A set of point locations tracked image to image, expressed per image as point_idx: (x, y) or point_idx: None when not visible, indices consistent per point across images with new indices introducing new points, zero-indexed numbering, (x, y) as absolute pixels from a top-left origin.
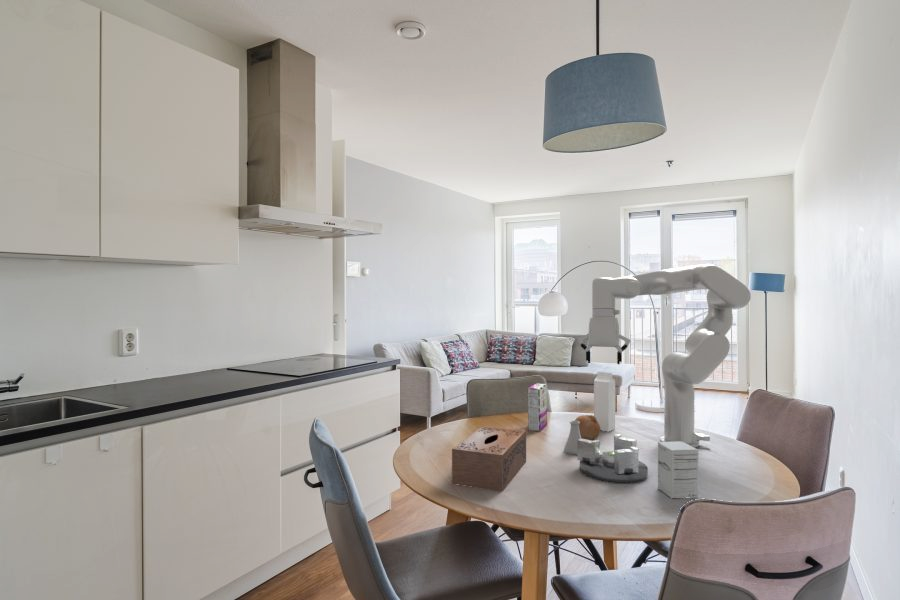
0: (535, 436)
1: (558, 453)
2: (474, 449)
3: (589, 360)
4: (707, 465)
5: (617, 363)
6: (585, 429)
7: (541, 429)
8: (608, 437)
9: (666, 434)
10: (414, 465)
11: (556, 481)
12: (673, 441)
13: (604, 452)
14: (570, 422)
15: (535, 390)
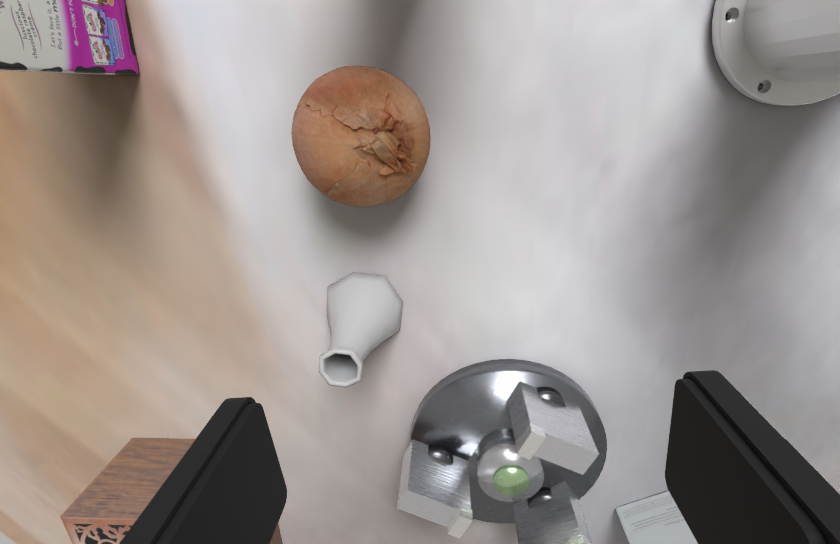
0: (161, 166)
1: (319, 342)
2: None
3: (268, 533)
4: (822, 292)
5: (670, 488)
6: (369, 206)
7: (131, 43)
8: (461, 39)
9: (767, 42)
10: (41, 536)
11: (378, 531)
12: (777, 75)
13: (483, 467)
14: (324, 377)
15: None
